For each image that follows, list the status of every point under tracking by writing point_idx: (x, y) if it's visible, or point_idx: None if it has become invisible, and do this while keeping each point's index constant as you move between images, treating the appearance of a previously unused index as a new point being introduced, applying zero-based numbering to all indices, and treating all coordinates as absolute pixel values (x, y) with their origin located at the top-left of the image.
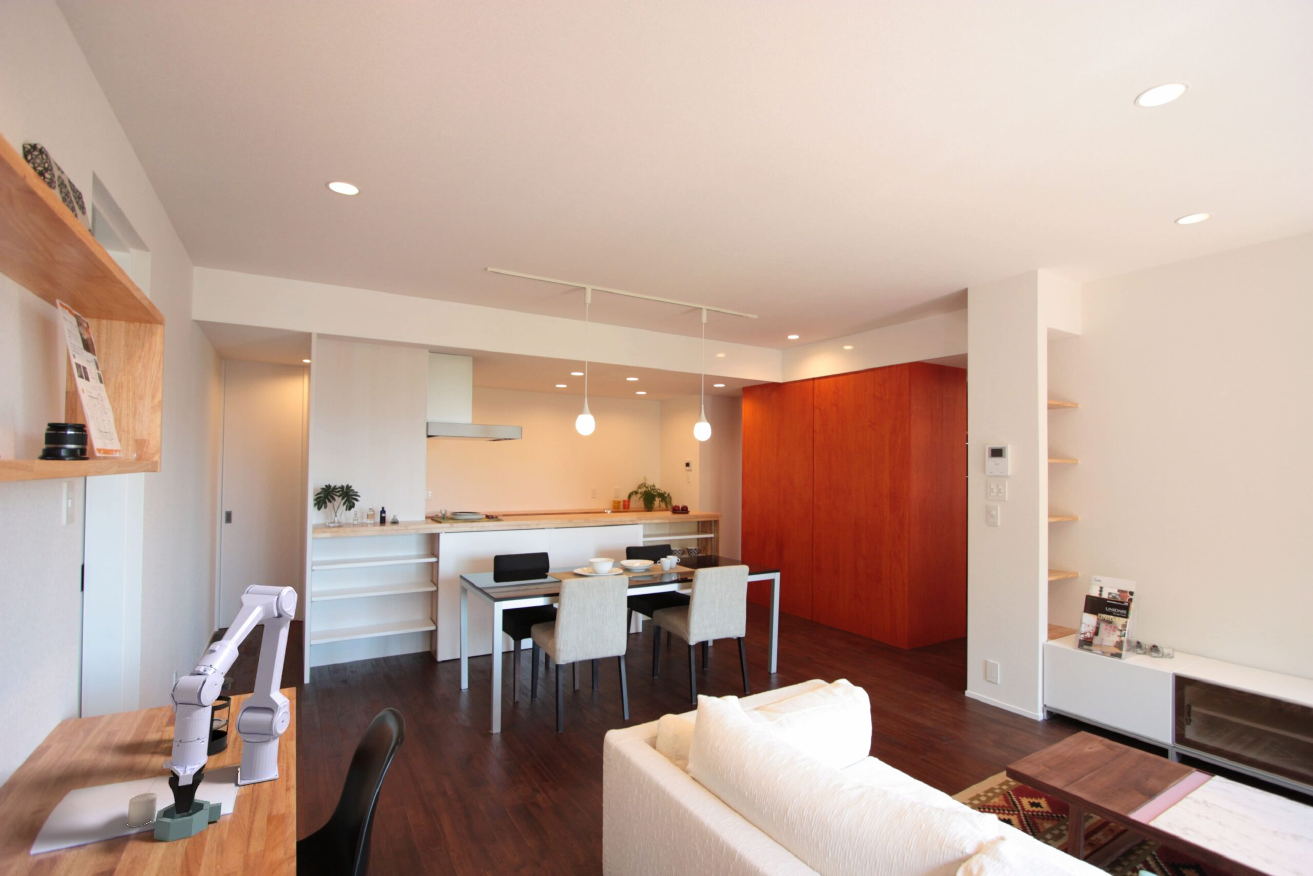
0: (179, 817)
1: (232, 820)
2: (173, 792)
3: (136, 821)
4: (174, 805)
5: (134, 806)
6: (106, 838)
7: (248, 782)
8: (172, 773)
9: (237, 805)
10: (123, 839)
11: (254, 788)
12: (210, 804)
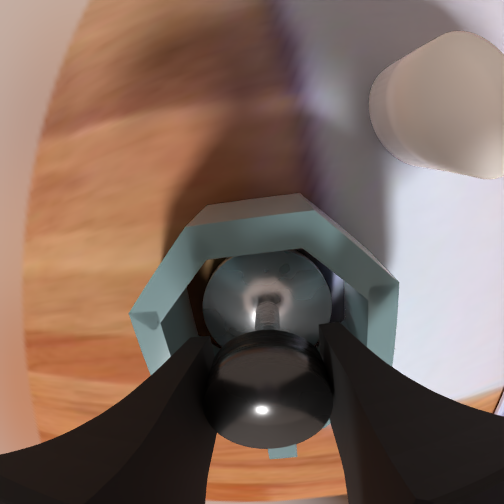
0: (347, 286)
1: None
2: (74, 432)
3: (377, 94)
4: (242, 336)
5: (415, 60)
6: (286, 7)
7: (498, 409)
8: (406, 490)
9: None
10: (249, 73)
11: None
12: None
